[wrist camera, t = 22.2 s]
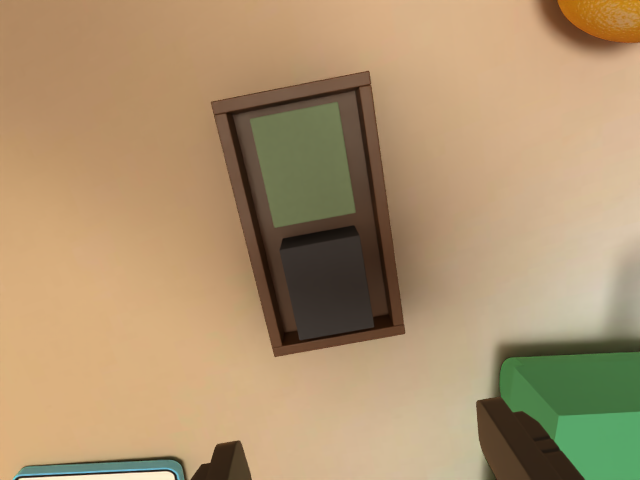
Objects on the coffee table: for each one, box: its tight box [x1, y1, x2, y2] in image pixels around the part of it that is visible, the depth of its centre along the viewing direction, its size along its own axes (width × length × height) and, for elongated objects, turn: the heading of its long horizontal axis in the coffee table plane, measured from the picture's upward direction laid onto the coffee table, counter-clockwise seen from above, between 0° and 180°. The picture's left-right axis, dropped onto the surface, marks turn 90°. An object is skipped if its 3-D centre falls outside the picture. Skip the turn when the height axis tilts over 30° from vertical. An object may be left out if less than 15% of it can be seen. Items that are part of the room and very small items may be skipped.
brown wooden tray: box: [211, 71, 405, 357], centre depth 26 cm, size 19×10×3 cm, turn 11°
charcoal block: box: [279, 225, 374, 340], centre depth 27 cm, size 7×6×3 cm
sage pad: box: [250, 102, 356, 228], centre depth 25 cm, size 7×6×3 cm
